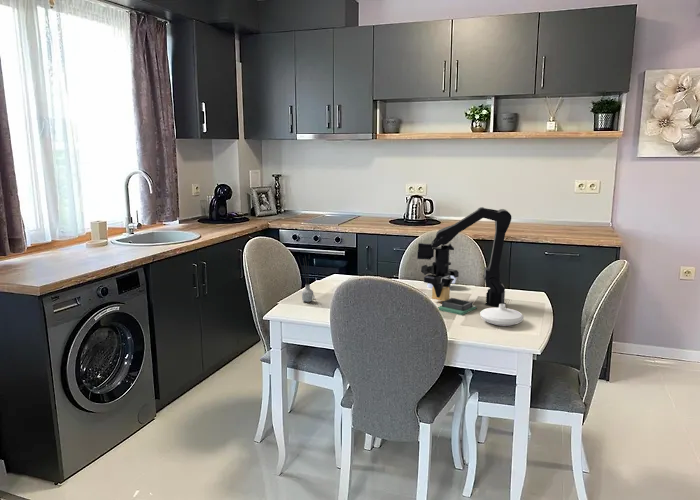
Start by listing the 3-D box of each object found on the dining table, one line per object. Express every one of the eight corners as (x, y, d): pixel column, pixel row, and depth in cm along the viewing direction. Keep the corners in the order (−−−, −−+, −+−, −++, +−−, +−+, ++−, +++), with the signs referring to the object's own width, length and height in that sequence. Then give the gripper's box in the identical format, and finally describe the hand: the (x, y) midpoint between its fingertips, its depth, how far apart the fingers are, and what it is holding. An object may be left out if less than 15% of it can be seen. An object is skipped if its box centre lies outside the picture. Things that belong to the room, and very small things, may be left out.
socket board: (476, 308, 224) (476, 301, 224) (461, 315, 215) (462, 307, 215) (452, 303, 231) (452, 296, 231) (437, 309, 222) (437, 302, 222)
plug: (449, 299, 232) (449, 287, 231) (444, 301, 229) (444, 288, 228) (437, 296, 236) (437, 284, 235) (432, 298, 233) (432, 286, 232)
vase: (481, 328, 201) (482, 309, 199) (477, 315, 216) (478, 297, 215) (526, 330, 198) (527, 311, 197) (519, 317, 214) (520, 299, 212)
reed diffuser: (310, 305, 228) (309, 257, 224) (294, 303, 230) (293, 256, 226) (317, 298, 238) (316, 252, 234) (302, 297, 239) (301, 252, 236)
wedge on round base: (456, 285, 260) (428, 283, 264) (456, 271, 259) (429, 270, 262) (454, 290, 252) (426, 288, 255) (455, 276, 250) (426, 274, 254)
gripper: (437, 254, 241) (436, 288, 244) (413, 260, 227) (412, 297, 230) (459, 257, 234) (458, 293, 237) (436, 264, 220) (435, 302, 223)
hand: (440, 296), depth 232 cm, fingers closed on plug, 4 cm apart
